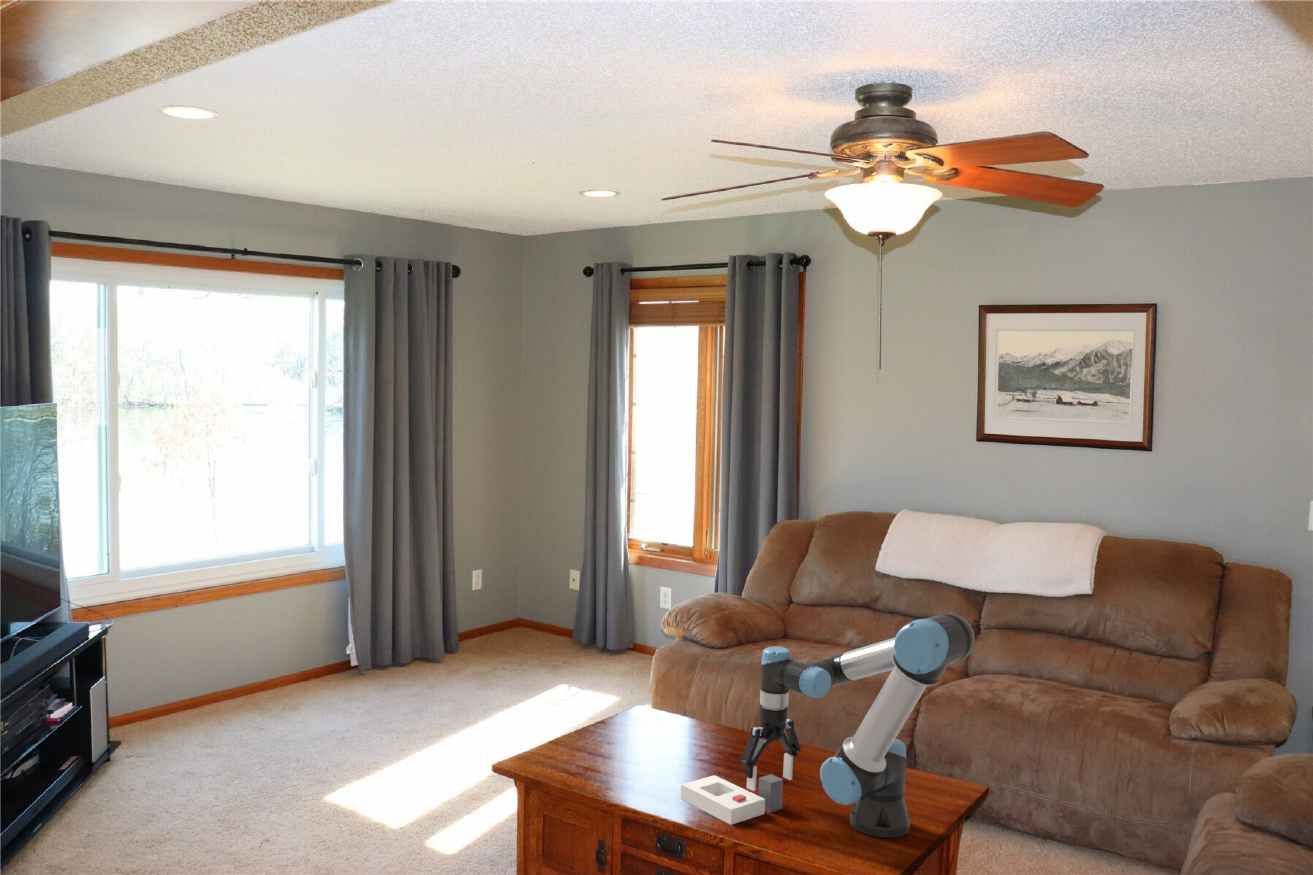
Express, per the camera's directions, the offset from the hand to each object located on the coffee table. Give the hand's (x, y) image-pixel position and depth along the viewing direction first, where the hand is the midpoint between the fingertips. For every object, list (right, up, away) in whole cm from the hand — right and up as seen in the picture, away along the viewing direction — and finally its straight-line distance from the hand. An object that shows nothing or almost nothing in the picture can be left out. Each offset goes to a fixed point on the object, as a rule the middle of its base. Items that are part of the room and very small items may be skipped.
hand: (769, 783), depth 278 cm
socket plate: (-13, -6, 0) cm, 14 cm away
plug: (0, -6, 0) cm, 6 cm away
